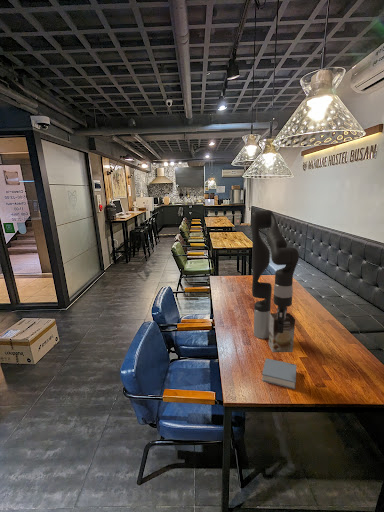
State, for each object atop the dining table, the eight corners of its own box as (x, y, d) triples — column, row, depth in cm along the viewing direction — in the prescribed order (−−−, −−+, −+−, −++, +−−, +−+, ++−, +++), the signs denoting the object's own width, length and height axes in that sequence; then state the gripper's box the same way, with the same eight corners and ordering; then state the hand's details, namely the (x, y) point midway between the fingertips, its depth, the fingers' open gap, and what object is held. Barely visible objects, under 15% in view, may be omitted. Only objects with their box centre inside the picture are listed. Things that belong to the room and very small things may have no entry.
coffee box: (272, 353, 109) (273, 320, 105) (268, 344, 115) (269, 313, 111) (293, 352, 108) (295, 319, 105) (288, 343, 115) (289, 312, 111)
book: (265, 365, 123) (265, 358, 122) (295, 372, 117) (296, 364, 117) (261, 381, 112) (262, 373, 112) (295, 389, 107) (295, 381, 106)
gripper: (275, 286, 113) (274, 319, 117) (271, 298, 101) (270, 334, 104) (293, 288, 110) (291, 321, 114) (291, 301, 98) (289, 337, 101)
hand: (281, 327), depth 109 cm, fingers closed on coffee box, 8 cm apart
